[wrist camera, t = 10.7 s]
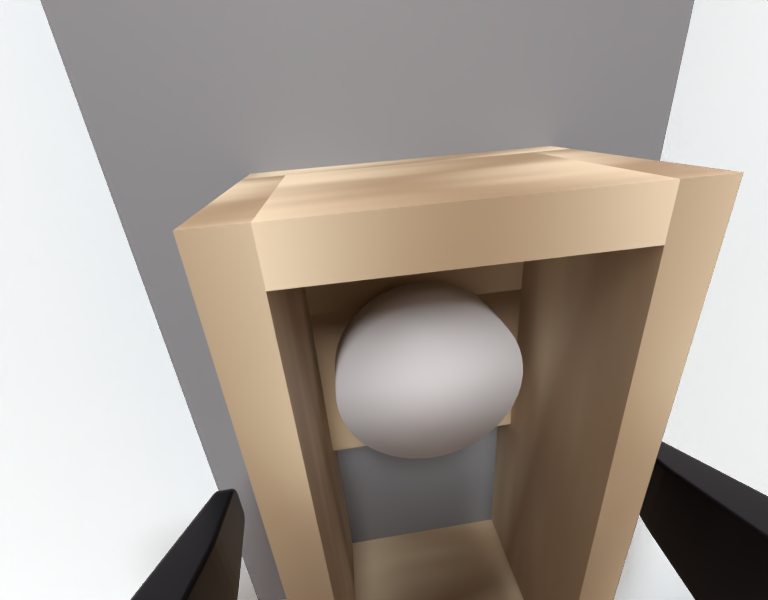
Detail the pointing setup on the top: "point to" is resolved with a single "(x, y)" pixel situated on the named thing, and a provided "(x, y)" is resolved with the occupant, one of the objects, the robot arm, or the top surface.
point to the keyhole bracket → (514, 308)
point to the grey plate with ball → (355, 146)
